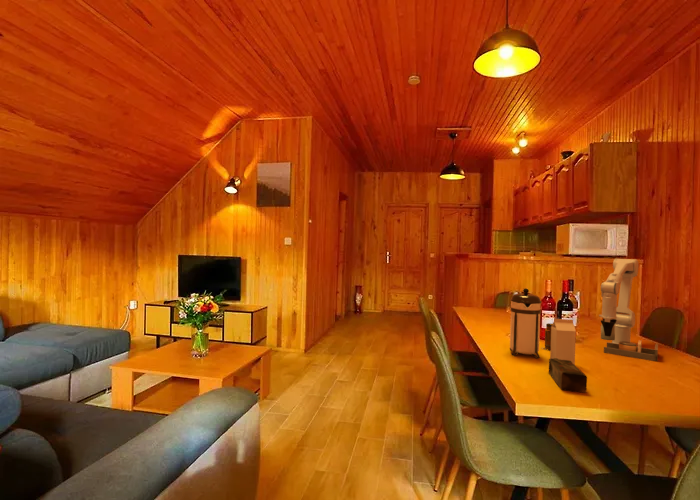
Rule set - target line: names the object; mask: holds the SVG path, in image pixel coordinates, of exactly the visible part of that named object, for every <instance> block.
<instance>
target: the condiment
mask: <svg viewBox="0 0 700 500" xmlns="http://www.w3.org/2000/svg"><path fill="white" fill-rule="evenodd" d="M552 324H553V323H551V322H550V323H546V326H545V330H544V347H545V349H543V348H544V347H541V349H543V350H546V349H548V350H547V351H551V326H552Z"/></svg>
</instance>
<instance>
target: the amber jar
mask: <svg viewBox="0 0 700 500" xmlns="http://www.w3.org/2000/svg"><path fill="white" fill-rule="evenodd" d="M637 347H638V344H637V343H634V342H632V341H630V342H626V341H620V342H619V349H621V350H627V351H633V352H637Z"/></svg>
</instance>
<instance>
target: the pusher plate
mask: <svg viewBox="0 0 700 500" xmlns="http://www.w3.org/2000/svg"><path fill="white" fill-rule="evenodd" d="M642 342H643V341H642V340H640V339H638V342H637V347H638V352H640V353H641V347H642Z"/></svg>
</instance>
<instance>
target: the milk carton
mask: <svg viewBox="0 0 700 500" xmlns="http://www.w3.org/2000/svg"><path fill="white" fill-rule="evenodd" d="M551 324H552V326H551V350H550V354H549V355H550V357H549V359H554V358H558V359H560V360H569V361H571V362H572V363H573V364H574V365H575V366H576V342H577V341H576V338H577V337H576V336H577V335H576V334H577V333H576V332H577V331H576V327H575V325H574V319H567V318H562V319H561V318H554V319H553V322H552V323H551Z"/></svg>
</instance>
